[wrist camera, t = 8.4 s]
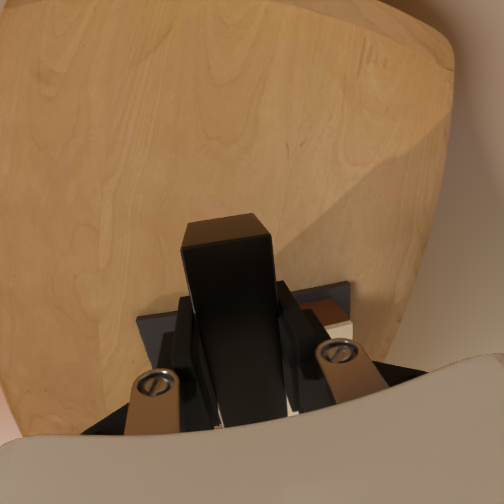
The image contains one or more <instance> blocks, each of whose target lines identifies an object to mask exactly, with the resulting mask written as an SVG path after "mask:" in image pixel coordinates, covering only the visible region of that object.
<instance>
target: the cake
mask: <svg viewBox="0 0 504 504" xmlns="http://www.w3.org/2000/svg"><path fill="white" fill-rule="evenodd" d="M291 294H292V295H293V297H294V298H295V300H296V302H297V303H298V305H299V307H300V308H301V310H303V309H308V308H311V309H312V310H313V312H314V313H315V315H316V316H317V318H318V319H319V321H320V322H321V323H322V325H323V326H324V328H325V329H326V331H327V332H328V334H329V335H330V337H331V338H332V339H333V338H347V339H351V340H352V337H353V323H352V322H351V320H350V283H349V282H348V281H344V282H339V283H334V284H329V285H324V286H319V287H314V288H309V289H304V290H299V291H294V292H291ZM177 312H178V311H174V312H167V313H160V314H153V315H146V316H138V317H137V319H136V323H137V326H138V329H139V332H140V335H141V338H142V341H143V344H144V347H145V350H146V353H147V355H148V358H149V361H150V364H151V366H152V369H156V367H157V362H158V356H159V351H160V346H161V341H162V337H163V333H164V332H171V331H175V324H176V318H177ZM286 396H287V395H286ZM287 408H288V417H289V416H294V415H298V414H299V413H298V411H297V412H292V410H291V407H290V404H289V401H288V398H287ZM218 413H219V412H218ZM219 424H222V422H221V419H220V416H219Z"/></svg>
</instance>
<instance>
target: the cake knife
mask: <svg viewBox="0 0 504 504" xmlns="http://www.w3.org/2000/svg"><path fill="white" fill-rule="evenodd" d="M180 251H181V256H182V261H183V266H184V271H185V276H186V281H187V285H188V290H189V295H190V299H191V304H192V308H193V312H194V317H195V321H196V325H197V329H198V331H199V333H200V337H201V341H202V345H203V349H204V353H205V357H206V361H207V365H208V369H209V373H210V376H211V380H212V384H213V387H214V391H215V395H216V398H217V402H218V409H219V412H220V415H221V419H222V422H223V425H224V428H229V427H235V426H242V425H248V424H254V423H259V422H265V421H270V420H275V419H280V418H285V417H288V408H287V396H286V392H285V387H284V375H283V364H282V352H281V342H280V331H279V320H278V318H279V317H280V316H279V305H278V295H277V285H276V275H275V265H274V255H273V246H272V236H271V234H270V233H269V232H268V230H267V229H266V228H265V227H264V226H263V224H262V223H261V222H260V221H259V220H258V218H257V217H256V216H255V215H254V214H253V213H249V214H242V215H236V216H229V217H223V218H216V219H210V220H204V221H197V222H191V223H188V224H187V228H186V231H185V235H184V238H183V242H182V245H181V249H180Z"/></svg>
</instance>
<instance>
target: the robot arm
mask: <svg viewBox="0 0 504 504" xmlns="http://www.w3.org/2000/svg"><path fill="white" fill-rule="evenodd" d="M276 285H277V295H278V305H279V316H280V317H279V318H278V320H279V331H280V342H281V352H282V364H283V375H284V387H285V392H286V395H287V398H288V401H289V404H290V407H291V410H292V412H297V411H298V413H299V414H298V415H294V416H289V417H285V418H280V419H275V420H270V421H265V422H259V423H254V424H248V425H242V426H235V427H229V428H221V429H214V426H219V413H218V402H217V398H216V395H215V391H214V387H213V384H212V380H211V376H210V373H209V369H208V365H207V361H206V357H205V353H204V349H203V345H202V341H201V337H200V333H199V331H198V329H197V325H196V321H195V317H194V312H193V308H192V304H191V299H190V296H185V297H180V300H179V306H178V312H177V318H176V324H175V331H171V332H164V333H163V337H162V341H161V346H160V351H159V356H158V362H157V367H156V369H153V370H149V371H147V372H144V373H143V374H141V375H140V376H138V377H137V379H136V380H135V381H134V383H133V385H132V390H131V395H130V401H129V403H127V404H126V405H124V406H123V407H121V408H120V409H118V410H117V411H115V412H114V413H112V414H110V415H109V416H107V417H106V418H104V419H103V420H101V421H100V422H98V423H96V424H95V425H93V426H92V427H90V428H89V429H87V430H85V431H84V432H83V433H82V434H80V435H68V434H45V435H36V436H28V437H23V438H19V439H15V440H12V441H10V442H7V443H5V444H3V445H2V446H0V504H504V353H503V354H502V353H493V354H485V355H479V356H475V357H471V358H467V359H463V360H461V361H458V362H455V363H452V364H449V365H447V366H444V367H442V368H439V369H437V370H434V371H432V372H429V373H428V372H425V371H420V370H415V369H410V368H405V367H400V366H395V365H390V364H385V363H381V362H376V361H371V359H370V358H369V356H368V355H367V353H366V352H365V350H364V349H363V348H362V346H361V345H360V344H359V343H358V342H356V341H354V340H351V339H347V338H333V339H332V338H331V337H330V335H329V334H328V332H327V331H326V329H325V328H324V326H323V325H322V323H321V322H320V321H319V319H318V318H317V316H316V315H315V313H314V312H313V310H312V309H311V308H308V309H303V310H301V308H300V307H299V305H298V303H297V302H296V300H295V298H294V297H293V295H292V294H291V292H290V290H289V289H288V287H287V285H286V284H285V282H284V281H277V282H276Z"/></svg>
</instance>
